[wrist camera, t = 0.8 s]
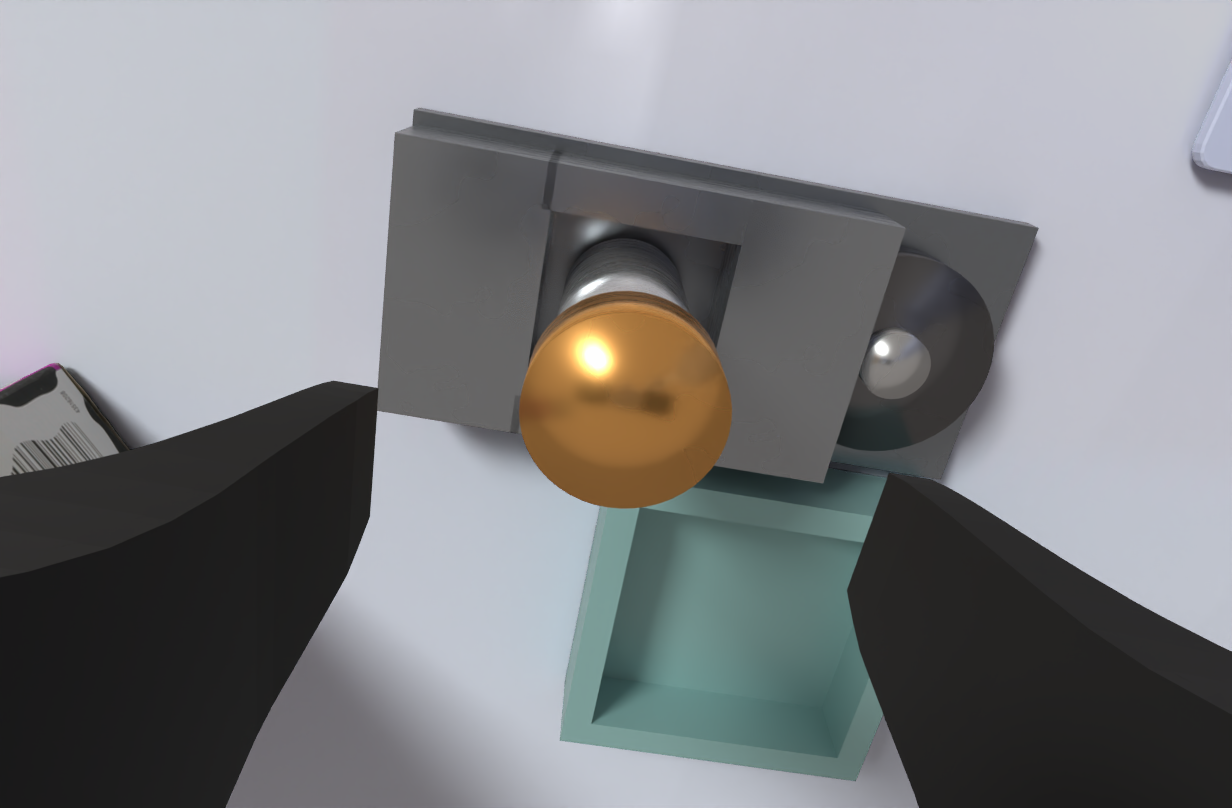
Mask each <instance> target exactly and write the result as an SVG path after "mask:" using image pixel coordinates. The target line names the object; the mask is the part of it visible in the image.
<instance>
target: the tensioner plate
mask: <svg viewBox="0 0 1232 808" xmlns="http://www.w3.org/2000/svg"><path fill="white" fill-rule="evenodd" d="M1038 229H1039V228H1038V227H1035V226H1033V225H1031V224H1028V223H1024V222H1019V221H1014V220H1009V219H1003V218H998V217H993V216H988V215H982V214H977V213H972V212H966V211H961V210H956V209H951V208H945V207H940V206H935V205H930V204H924V203H919V202H914V201H908V200H903V199H898V198H893V197H887V196H882V195H877V194H871V193H866V192H861V191H856V190H850V189H845V188H840V187H835V186H829V185H824V184H819V183H813V182H808V181H803V180H798V179H792V178H787V177H782V176H777V175H771V174H766V173H761V172H755V171H750V170H745V169H740V168H734V167H729V166H724V165H719V164H713V163H708V162H703V161H697V160H692V159H687V158H682V157H676V156H671V155H666V154H661V153H655V152H650V151H645V150H639V149H634V148H629V147H624V146H618V145H613V144H608V143H603V142H597V141H592V140H587V139H581V138H576V137H571V136H566V135H560V134H555V133H550V132H545V131H539V130H534V129H529V128H523V127H518V126H513V125H508V124H502V123H497V122H492V121H486V120H481V119H476V118H471V117H465V116H460V115H455V114H450V113H444V112H439V111H434V110H428V109H423V108H418V109H414V114H413V126H411V127H408V128H406V129H403V130H401V131H398V132H395V141H394V156H393V170H392V185H391V200H390V215H389V229H388V244H387V259H386V274H385V288H384V303H383V318H382V333H381V347H380V362H379V377H378V388H379V390H378V404H377V411H382V412H388V413H394V414H400V415H407V416H413V417H419V418H425V419H431V420H437V421H443V422H449V423H456V424H462V425H468V426H474V427H480V428H486V429H492V430H498V431H505V432H511V433H517V434H522V432H521V427H520V419H519V405H520V397H521V392H522V388H523V384H524V380H525V377H526V373H527V370H528V366H529V363H530V359H531V356H532V354H533V351H534V348H535V346H536V344H537V342H538V340H539V338H540V337H541V335H542V333H543V332H544V331H545V329H546V328H547V327H548V325H549V324H550V323H551V322H552V321H553V320H554V319H555V318H556V317H557V316H558V312H559V307H560V303H561V299H562V294H563V290H564V285H565V281H566V278H567V275H568V273H569V271H570V269H571V267H572V266H573V264H574V263H575V261H576V260H577V259H578V258H579V257H580V256H581V255H582V254H583V253H584V252H585V251H587V250H588V249H589V248H591V247H593V246H594V245H596V244H599V243H601V242H603V241H607V240H610V239H617V238H630V239H637V240H641V241H644V242H646V243H649V244H651V245H653V246H655V247H656V248H658V249H659V250H661V251H662V252H663V253H664V254H665V255H666V256H667V257H668V258H669V259H670V260H671V261H672V263H673V264H674V265H675V267H676V269H677V271H678V273H679V275H680V278H681V281H682V285H683V289H684V292H685V296H686V300H687V304H688V307H689V311H690V314H691V315H692V316H693V317H694V318H695V319H696V320H697V321H698V322H699V323H700V324H701V325H702V326H703V328H704V329H705V330H706V332H707V333H708V335H709V336H710V338H711V340H712V341H713V343H714V345H715V348H716V350H717V353H718V355H719V359H720V362H721V365H722V368H723V371H724V374H725V377H726V380H727V383H728V387H729V391H730V395H731V404H732V421H731V427H730V432H729V436H728V439H727V442H726V445H725V447H724V449H723V451H722V453H721V455H720V457H719V459H718V460H717V462H716V463H715V465H714V466H719V467H725V468H731V469H737V470H743V471H749V472H756V473H762V474H768V475H774V476H780V477H786V478H792V479H798V480H805V481H811V482H817V483H823V482H824V479H825V476H826V473H827V470H828V467H829V464H830V461H832V462H838V463H844V464H850V465H856V466H862V467H868V468H874V469H880V470H886V471H892V472H898V473H905V474H911V475H917V476H923V477H929V478H935V479H941V477H942V474H943V472H944V469H945V466H946V464H947V461H948V459H949V456H950V454H951V451H952V449H953V446H954V443H955V441H956V438H957V436H958V433H959V431H960V428H961V426H962V423H963V420H964V418H965V415H966V413H967V410H968V408H969V406H970V405H971V403H972V402H973V401H974V399H975V398H976V396H977V395H978V393H979V391H980V390H981V388H982V386H983V384H984V382H985V380H986V378H987V375H988V372H989V369H990V366H991V362H992V357H993V351H994V341H995V339H996V336H997V333H998V331H999V328H1000V326H1001V323H1002V321H1003V318H1004V316H1005V313H1006V310H1007V308H1008V305H1009V303H1010V300H1011V298H1012V295H1013V293H1014V290H1015V287H1016V285H1017V282H1018V280H1019V277H1020V275H1021V272H1022V270H1023V267H1024V264H1025V262H1026V259H1027V257H1028V254H1029V252H1030V249H1031V246H1032V244H1033V241H1034V239H1035V236H1036V234H1037V231H1038Z"/></svg>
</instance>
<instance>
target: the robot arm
mask: <svg viewBox="0 0 1232 808" xmlns="http://www.w3.org/2000/svg"><path fill="white" fill-rule="evenodd" d="M1192 156H1193V160H1194V161H1195V163H1196V164H1197V165H1198V166H1200V167H1202V168H1205V169H1210V170H1214V171H1220V172H1225V173H1230V174H1232V59H1231V62H1230V64H1229V66H1228V68H1227V70H1226V73H1225V75H1224V77H1223V79H1222V82H1221V84H1220V86H1219V88H1218V91H1217V93H1216V95H1215V97H1214V99H1213V102H1212V104H1211V106H1210V108H1209V111H1208V113H1207V115H1206V117H1205V119H1204V122H1203V124H1202V126H1201V128H1200V131H1199V133H1198V135H1197V137H1196V139H1195V142H1194V145H1193V149H1192ZM378 390H379V388H374V387H368V386H362V385H356V384H350V383H344V382H338V381H330V382H326V383H322V384H319V385H316V386H313V387H310V388H307V389H304V390H301V391H299V392H296V393H294V394H291V395H288V396H286V397H283V398H281V399H278V400H276V401H273V402H270V403H268V404H265V405H263V406H260V407H257V408H255V409H252V410H249V411H247V412H244V413H242V414H239V415H236V416H234V417H231V418H228V419H226V420H223V421H220V422H217V423H214V424H211V425H208V426H205V427H202V428H199V429H196V430H193V431H190V432H187V433H184V434H181V435H178V436H175V437H172V438H169V439H166V440H163V441H160V442H157V443H153V444H150V445H146V446H143V447H139V448H136V449H132V450H128V451H125V452H121V453H117V454H113V455H109V456H104V457H100V458H96V459H92V460H88V461H83V462H79V463H75V464H70V465H65V466H61V467H56V468H50V469H44V470H38V471H33V472H27V473H21V474H15V475H9V476H3V477H0V808H225V807H226V805H227V802H228V800H229V798H230V796H231V793H232V791H233V789H234V786H235V784H236V782H237V780H238V777H239V775H240V773H241V770H242V768H243V766H244V764H245V761H246V759H247V757H248V754H249V752H250V750H251V748H252V745H253V743H254V741H255V739H256V736H257V734H258V733H259V731H260V729H261V727H262V725H263V723H264V721H265V719H266V717H267V715H268V713H269V711H270V709H271V707H272V705H273V704H274V702H275V700H276V698H277V697H278V695H279V693H280V691H281V690H282V688H283V686H284V684H285V683H286V681H287V679H288V678H289V676H290V674H291V672H292V671H293V669H294V667H295V665H296V664H297V662H298V660H299V658H300V657H301V655H302V653H303V651H304V650H305V648H306V646H307V645H308V643H309V641H310V639H311V638H312V636H313V634H314V632H315V631H316V629H317V627H318V625H319V624H320V622H321V620H322V618H323V617H324V615H325V613H326V611H327V610H328V608H329V606H330V604H331V603H332V601H333V599H334V597H335V595H336V594H337V592H338V590H339V588H340V587H341V585H342V583H343V581H344V579H345V577H346V576H347V574H348V571H349V569H350V566H351V564H352V561H353V559H354V556H355V554H356V551H357V549H358V546H359V544H360V541H361V538H362V536H363V533H364V531H365V528H366V525H367V523H368V520H369V517H370V506H371V492H372V477H373V463H374V448H375V434H376V419H377V404H378ZM847 594H848V600H849V605H850V610H851V615H852V620H853V625H854V629H855V633H856V638H857V642H858V646H859V650H860V653H861V656H862V659H863V662H864V664H865V667H866V670H867V672H868V675H869V678H870V680H871V683H872V686H873V688H874V691H875V694H876V696H877V699H878V702H879V704H880V707H881V709H882V712H883V714H884V717H885V720H886V722H887V725H888V727H889V730H890V732H891V735H892V737H893V740H894V743H895V745H896V748H897V750H898V753H899V755H900V758H901V761H902V763H903V766H904V768H905V771H906V773H907V776H908V779H909V781H910V784H911V786H912V789H913V791H914V794H915V797H916V800H917V803H918V806H919V808H1232V652H1231V651H1229V650H1227V649H1225V648H1223V647H1221V646H1219V645H1217V644H1215V643H1213V642H1211V641H1209V640H1207V639H1205V638H1203V637H1201V636H1199V635H1197V634H1195V633H1193V632H1191V631H1189V630H1187V629H1185V628H1183V627H1181V626H1179V625H1177V624H1175V623H1173V622H1171V621H1170V620H1168V619H1166V618H1164V617H1162V616H1160V615H1158V614H1156V613H1154V612H1152V611H1151V610H1149V609H1147V608H1145V607H1143V606H1141V605H1140V604H1138V603H1136V602H1134V601H1132V600H1131V599H1129V598H1127V597H1126V596H1124V595H1122V594H1120V593H1119V592H1117V591H1115V590H1114V589H1112V588H1110V587H1108V586H1107V585H1105V584H1103V583H1102V582H1100V581H1098V580H1097V579H1095V578H1093V577H1091V576H1090V575H1088V574H1086V573H1085V572H1083V571H1081V570H1080V569H1078V568H1077V567H1075V566H1073V565H1072V564H1070V563H1068V562H1067V561H1065V560H1064V559H1062V558H1060V557H1059V556H1057V555H1056V554H1054V553H1053V552H1051V551H1049V550H1048V549H1046V548H1045V547H1043V546H1041V545H1040V544H1038V543H1037V542H1035V541H1034V540H1032V539H1031V538H1029V537H1027V536H1026V535H1024V534H1023V533H1021V532H1020V531H1018V530H1017V529H1015V528H1013V527H1012V526H1010V525H1009V524H1007V523H1006V522H1004V521H1003V520H1001V519H999V518H998V517H996V516H995V515H993V514H992V513H990V512H988V511H987V510H985V509H984V508H982V507H981V506H979V505H977V504H976V503H974V502H972V501H971V500H969V499H967V498H966V497H964V496H962V495H961V494H959V493H957V492H955V491H953V490H952V489H950V488H948V487H946V486H944V485H942V484H939V483H937V482H935V481H933V480H930V479H924V478H918V477H911V476H905V475H899V474H893V473H889V474H888V477H887V480H886V483H885V486H884V488H883V491H882V494H881V497H880V499H879V502H878V505H877V508H876V510H875V513H874V516H873V519H872V522H871V524H870V527H869V530H868V533H867V535H866V538H865V541H864V544H863V546H862V549H861V552H860V555H859V558H858V560H857V563H856V566H855V569H854V571H853V574H852V577H851V580H850V583H849V585H848V588H847Z"/></svg>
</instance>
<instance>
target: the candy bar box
mask: <svg viewBox="0 0 1232 808" xmlns="http://www.w3.org/2000/svg"><path fill="white" fill-rule="evenodd" d="M128 450H129V448H128V447H127V446H126V445H125V444H124V442H123V441H122V439H121V438H120V437H119V435H118V434H117V433H116V432H115V431H114V429H113V428H112V426H111V424H110V423H109V421H108V420H107V419H106V418H105V417H104V416H103V415H102V413H101V412H100V411H99V409H98V408H97V406H96V405H95V403H94V402H93V401H92V400H91V398H90V397H89V395H88V394H87V393H86V392H85V391H84V390H83V389H82V387H81V386H80V385H79V384H78V383H77V382H76V381H75V380H74V378H73V377H72V376H71V375H70V374H69V373H68V372H67V370H66V369H65V368H64V367H63V366H61V365H60V364H59V363H53V364H49V365H47V366H45V367H43V368H42V369H40V370H38V371H36V372H34V373H32V374H30V375H28V376H26V377H24V378H22V379H20V380H17V381H15V382H13V383H11V384H9V385H7V386H5V387H3V388H1V389H0V477H3V476H9V475H15V474H21V473H27V472H33V471H38V470H44V469H50V468H56V467H61V466H65V465H70V464H75V463H79V462H83V461H88V460H92V459H96V458H100V457H104V456H109V455H113V454H117V453H121V452H125V451H128Z"/></svg>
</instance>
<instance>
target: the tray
mask: <svg viewBox="0 0 1232 808" xmlns="http://www.w3.org/2000/svg"><path fill="white" fill-rule="evenodd" d="M886 480H887V478H885V477H879V476H873V475H867V474H861V473H855V472H849V471H843V470H837V469H831V468H828V470H827V473H826V476H825V479H824V482H823V483H817V482H811V481H805V480H798V479H792V478H786V477H780V476H774V475H768V474H762V473H756V472H749V471H743V470H737V469H731V468H725V467H719V466H713V467H712V469H711V470H710V471H709V472H708V473H707V474H706V475H705V477H704V478H702V479H701V480H700V481H699V482H698V483H697V484H696V485H694V486H693V487H692V488H690V489H689V490H687V491H686V492H684V493H682V494H681V495H679V496H677V497H675V498H673V499H670V500H668V501H665V502H662V503H660V504H656V505H652V506H648V507H641V508H628V509H619V508H609V507H603V506H600V509H599V514H598V519H597V524H596V529H595V534H594V539H593V544H592V549H591V554H590V559H589V564H588V569H587V574H586V579H585V584H584V589H583V594H582V599H581V604H580V609H579V614H578V619H577V624H576V629H575V634H574V639H573V644H572V649H571V654H570V659H569V664H568V669H567V674H566V679H565V686H564V698H563V710H562V721H561V733H560V741H567V742H574V743H582V744H589V745H596V746H603V747H611V748H618V749H625V750H633V751H640V752H647V753H654V754H662V755H669V756H676V757H683V758H691V759H698V760H705V761H712V762H720V763H727V764H734V765H742V766H749V767H756V768H763V769H771V770H778V771H785V772H792V773H800V774H807V775H814V776H822V777H829V778H836V779H843V780H851V781H856V779H857V777H858V774H859V772H860V769H861V767H862V765H863V762H864V760H865V757H866V755H867V752H868V750H869V748H870V745H871V743H872V740H873V738H874V735H875V733H876V731H877V728H878V726H879V723H880V721H881V719H882V716H883V712H882V709H881V707H880V704H879V702H878V699H877V696H876V694H875V691H874V688H873V686H872V683H871V680H870V678H869V675H868V672H867V670H866V667H865V664H864V662H863V659H862V656H861V653H860V650H859V646H858V642H857V638H856V633H855V629H854V625H853V620H852V615H851V610H850V605H849V600H848V594H847V588H848V585H849V583H850V580H851V577H852V574H853V571H854V569H855V566H856V563H857V560H858V558H859V555H860V552H861V549H862V546H863V544H864V541H865V538H866V535H867V533H868V530H869V527H870V524H871V522H872V519H873V516H874V513H875V510H876V508H877V505H878V502H879V499H880V497H881V494H882V491H883V488H884V486H885V483H886Z"/></svg>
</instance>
